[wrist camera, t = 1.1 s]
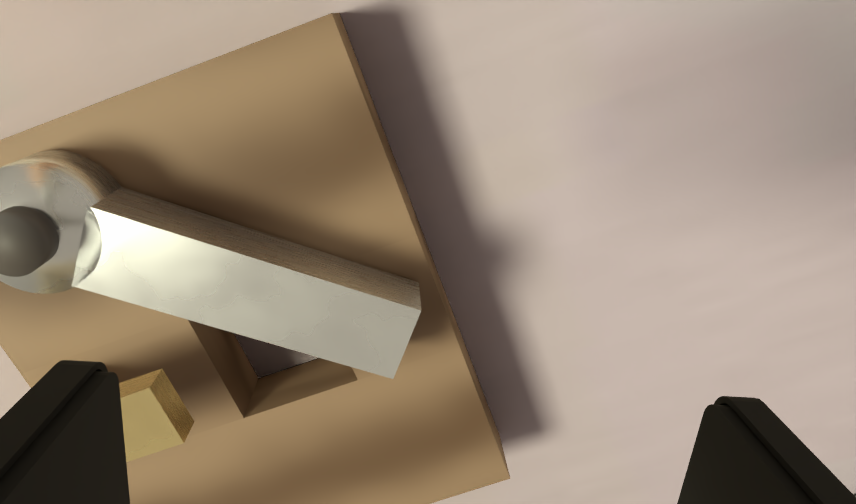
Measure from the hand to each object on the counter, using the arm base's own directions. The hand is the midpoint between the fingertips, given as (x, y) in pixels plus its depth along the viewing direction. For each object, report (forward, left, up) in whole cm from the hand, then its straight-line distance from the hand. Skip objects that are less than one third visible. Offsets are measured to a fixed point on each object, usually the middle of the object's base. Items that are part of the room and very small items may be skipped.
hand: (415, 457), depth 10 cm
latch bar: (0, -7, -14) cm, 16 cm away
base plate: (+4, -8, -17) cm, 19 cm away
